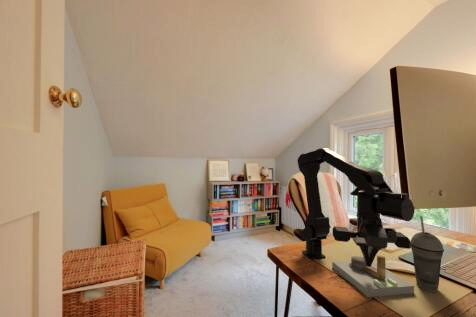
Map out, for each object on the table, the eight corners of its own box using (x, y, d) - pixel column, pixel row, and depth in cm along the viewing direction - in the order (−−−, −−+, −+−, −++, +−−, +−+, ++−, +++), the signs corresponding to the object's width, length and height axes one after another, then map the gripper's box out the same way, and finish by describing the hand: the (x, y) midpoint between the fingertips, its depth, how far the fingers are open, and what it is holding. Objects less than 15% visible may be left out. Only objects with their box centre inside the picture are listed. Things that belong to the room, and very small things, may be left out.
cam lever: (347, 263, 68) (347, 245, 68) (359, 261, 70) (359, 243, 70) (378, 281, 58) (378, 259, 58) (391, 278, 60) (390, 257, 60)
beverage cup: (432, 297, 55) (431, 221, 56) (404, 282, 62) (403, 215, 63) (451, 292, 57) (450, 219, 58) (421, 278, 64) (420, 213, 65)
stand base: (332, 267, 71) (332, 258, 71) (369, 265, 72) (369, 256, 73) (368, 297, 55) (368, 285, 55) (414, 293, 57) (414, 282, 57)
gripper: (338, 216, 56) (338, 274, 56) (422, 222, 51) (422, 287, 50) (332, 208, 67) (332, 257, 66) (400, 212, 61) (401, 266, 61)
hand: (368, 266), depth 61 cm, fingers closed
